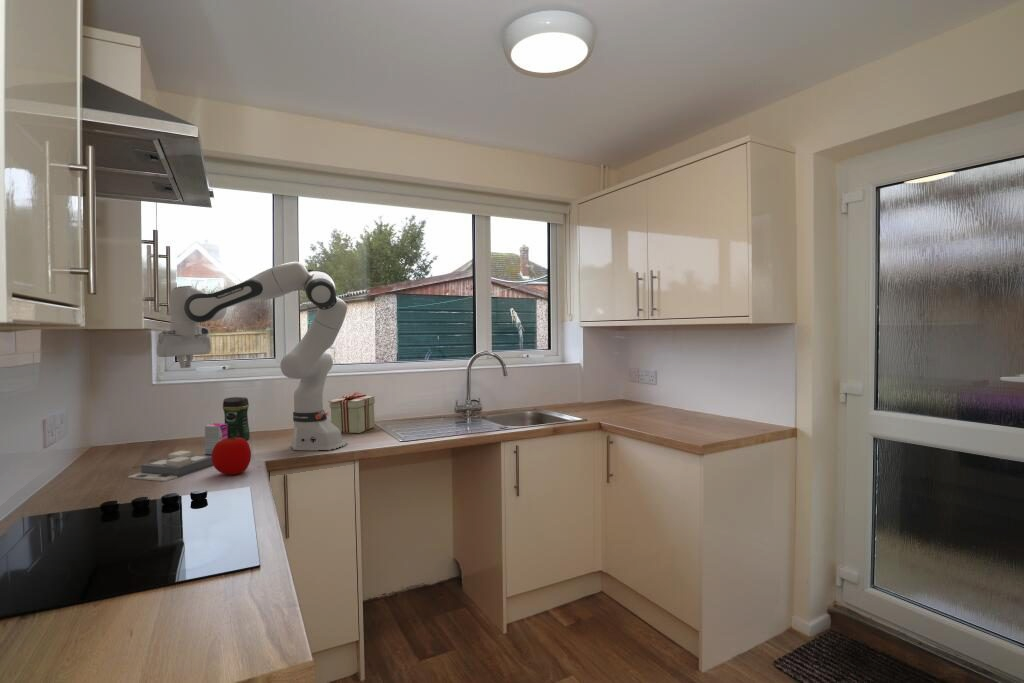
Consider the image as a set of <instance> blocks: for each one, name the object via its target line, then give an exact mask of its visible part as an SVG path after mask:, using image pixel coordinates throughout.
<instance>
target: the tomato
mask: <svg viewBox="0 0 1024 683" xmlns="http://www.w3.org/2000/svg"><path fill="white" fill-rule="evenodd" d="M243 438H244V437H240V438H238V437H234V436H232V438H227V439H224V440H221V441H219V442H218V443H217V444H216V445H215V446H214V449H213V451H212V463H213V467H214V468H215V470H216V471H218V472H219V473H221V474H223V475H227V476H229V475H230V476H231V475H233V476H234V475H239V474H242V473H243V472H245V471H246V470H247V469H248V468H249V466H250V462H251V458H252V451H251V447H250V444H249V442H248V440H245V439H243Z"/></svg>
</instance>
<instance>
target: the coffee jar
mask: <svg viewBox="0 0 1024 683" xmlns="http://www.w3.org/2000/svg"><path fill="white" fill-rule="evenodd" d="M249 406H250V404H249V399H248V397H244V396H243V397H240V396H239V397H238V396H234V397H232V396H231V397H226V398H224V399H223V401H222V410H223V413H224V424H228V438H232V436H234V437H238V438H240V437H244V438H243V439H245V440H246V441H248V440H249V439H250V437H251V434H250V427H249V419H248V418H249V416H248V410H249Z"/></svg>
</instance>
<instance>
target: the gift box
mask: <svg viewBox="0 0 1024 683" xmlns="http://www.w3.org/2000/svg"><path fill="white" fill-rule="evenodd" d="M375 399H376V398H375V396H374V395H373V396H371V395H369V396H368V395H367V394H364V393H362V392H360V391H356V392H354V393H353V394H351V393H350V394H344V395H342V396H341V397H339V398H336V399H335V398H334V399H331V400H328V401H327V402H328V403H329V408H330V422H331V423H332V424H333V425H335V426H336V427H337V428H339V429H340V431H341V434H361V433H364V432H366V431H368V430H370V429H373V428H375V401H376V400H375Z"/></svg>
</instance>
